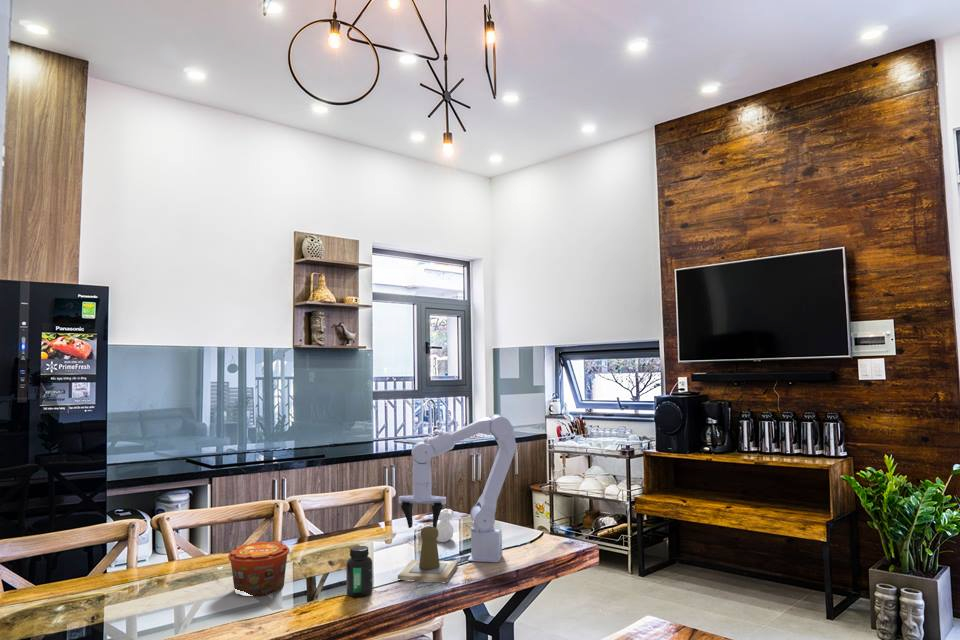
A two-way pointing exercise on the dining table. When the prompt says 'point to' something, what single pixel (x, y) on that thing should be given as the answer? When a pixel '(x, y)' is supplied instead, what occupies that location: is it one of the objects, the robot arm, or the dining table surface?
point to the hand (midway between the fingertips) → (422, 527)
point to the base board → (428, 572)
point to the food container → (259, 567)
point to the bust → (445, 525)
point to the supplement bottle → (359, 573)
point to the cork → (429, 548)
